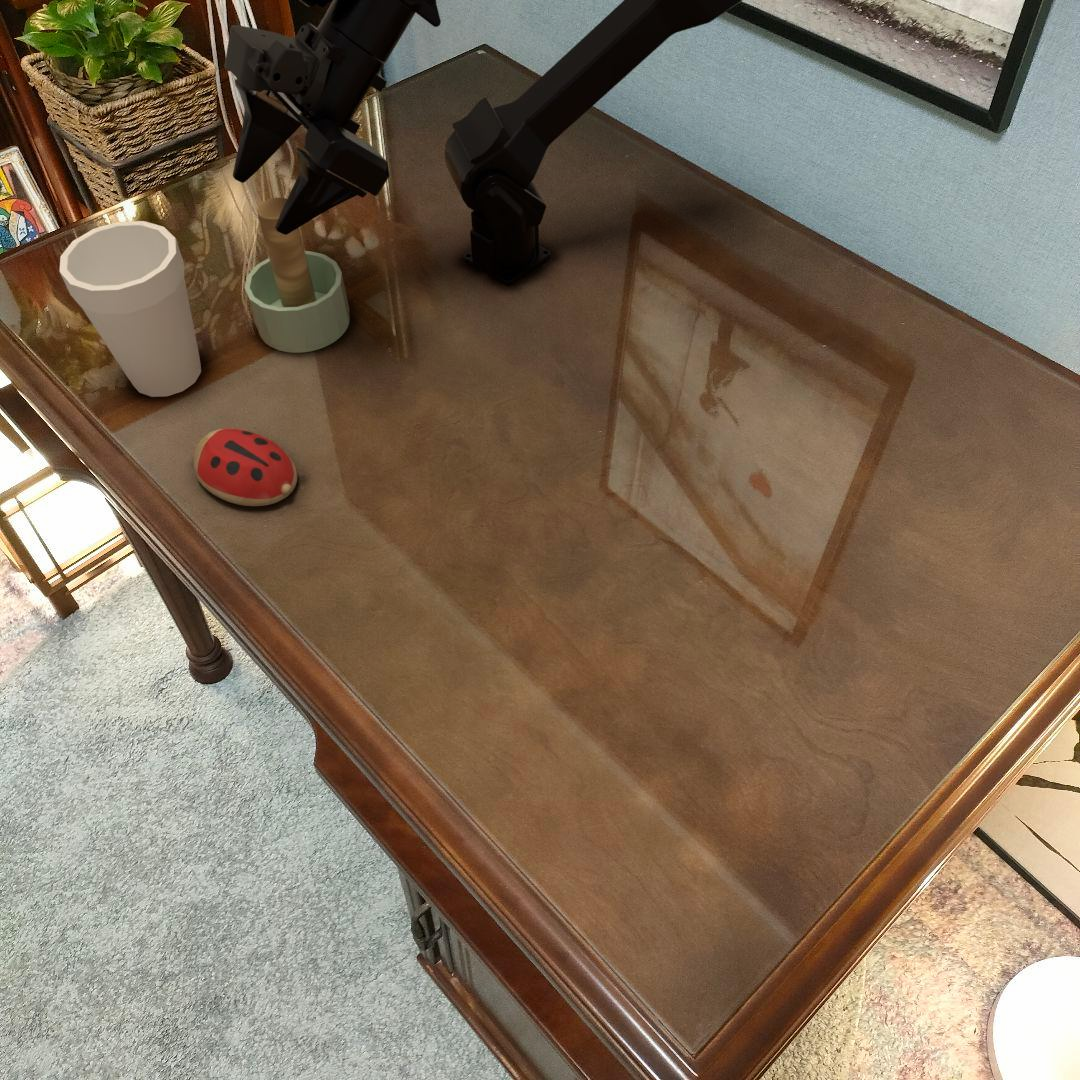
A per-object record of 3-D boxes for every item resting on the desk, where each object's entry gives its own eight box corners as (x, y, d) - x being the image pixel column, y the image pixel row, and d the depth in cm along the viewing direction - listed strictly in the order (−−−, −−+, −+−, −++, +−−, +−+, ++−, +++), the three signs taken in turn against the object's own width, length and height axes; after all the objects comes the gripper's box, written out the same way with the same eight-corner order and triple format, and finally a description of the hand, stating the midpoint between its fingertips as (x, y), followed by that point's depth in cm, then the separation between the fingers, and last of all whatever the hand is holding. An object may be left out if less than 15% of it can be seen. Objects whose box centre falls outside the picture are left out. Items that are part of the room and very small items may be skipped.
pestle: (322, 306, 99) (296, 197, 89) (316, 328, 97) (290, 218, 87) (289, 306, 99) (260, 197, 89) (283, 328, 97) (253, 218, 87)
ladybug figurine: (229, 432, 89) (218, 402, 86) (320, 472, 86) (312, 443, 83) (177, 482, 85) (164, 453, 83) (270, 526, 82) (260, 497, 80)
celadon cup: (310, 281, 102) (300, 239, 98) (368, 319, 98) (360, 276, 94) (239, 325, 98) (225, 282, 94) (297, 366, 94) (286, 323, 90)
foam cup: (192, 415, 90) (145, 297, 80) (96, 402, 92) (38, 284, 81) (233, 345, 96) (194, 226, 86) (142, 333, 97) (93, 215, 87)
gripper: (226, -59, 81) (135, 114, 86) (327, 34, 71) (218, 223, 76) (333, 16, 89) (246, 170, 95) (437, 108, 80) (333, 274, 85)
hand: (258, 205), depth 87 cm, fingers open, 9 cm apart
